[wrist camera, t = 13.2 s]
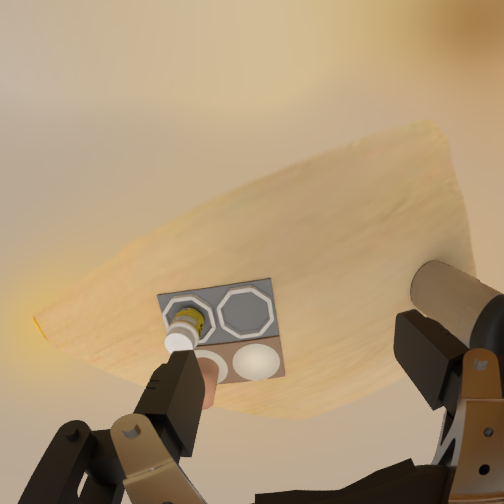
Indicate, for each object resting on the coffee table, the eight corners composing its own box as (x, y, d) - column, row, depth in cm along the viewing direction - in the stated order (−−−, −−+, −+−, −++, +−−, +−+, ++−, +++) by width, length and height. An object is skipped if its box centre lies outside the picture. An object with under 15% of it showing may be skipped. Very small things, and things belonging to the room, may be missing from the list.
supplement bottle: (199, 335, 42) (188, 365, 34) (173, 323, 42) (157, 351, 34) (210, 312, 41) (200, 340, 33) (182, 299, 41) (167, 324, 33)
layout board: (270, 278, 40) (274, 301, 32) (284, 374, 45) (290, 408, 36) (157, 294, 41) (137, 318, 33) (188, 384, 45) (178, 416, 37)
